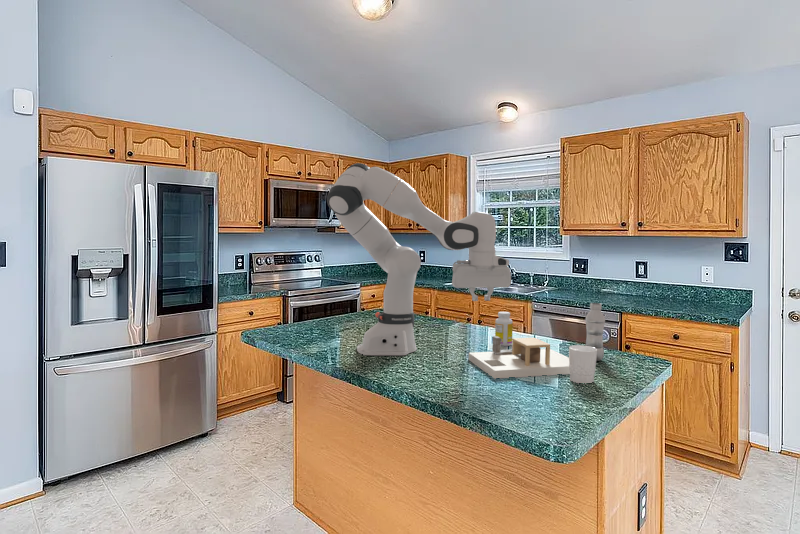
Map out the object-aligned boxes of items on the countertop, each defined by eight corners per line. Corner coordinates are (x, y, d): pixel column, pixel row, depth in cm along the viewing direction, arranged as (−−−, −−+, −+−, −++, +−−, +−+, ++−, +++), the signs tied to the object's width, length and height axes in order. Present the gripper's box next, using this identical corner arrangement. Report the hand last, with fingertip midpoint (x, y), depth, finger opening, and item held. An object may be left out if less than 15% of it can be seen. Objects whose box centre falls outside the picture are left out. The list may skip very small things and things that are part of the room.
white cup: (563, 377, 147) (564, 345, 146) (588, 376, 148) (589, 345, 147) (574, 385, 139) (576, 351, 138) (600, 384, 140) (602, 351, 139)
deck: (494, 378, 145) (495, 349, 144) (468, 359, 166) (469, 334, 165) (585, 372, 151) (586, 345, 151) (549, 355, 173) (549, 330, 172)
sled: (511, 363, 152) (511, 346, 151) (492, 352, 166) (492, 336, 166) (540, 361, 154) (540, 344, 154) (518, 350, 168) (519, 335, 168)
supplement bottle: (511, 342, 192) (511, 311, 191) (513, 346, 186) (514, 314, 185) (494, 342, 193) (494, 310, 192) (495, 346, 186) (496, 313, 185)
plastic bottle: (603, 358, 169) (605, 302, 167) (604, 363, 162) (606, 305, 161) (583, 357, 171) (585, 301, 170) (584, 361, 165) (586, 304, 163)
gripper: (455, 260, 156) (455, 302, 157) (513, 260, 160) (512, 301, 161) (449, 259, 162) (449, 300, 163) (505, 259, 166) (504, 298, 168)
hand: (481, 300), depth 162 cm, fingers open, 3 cm apart
